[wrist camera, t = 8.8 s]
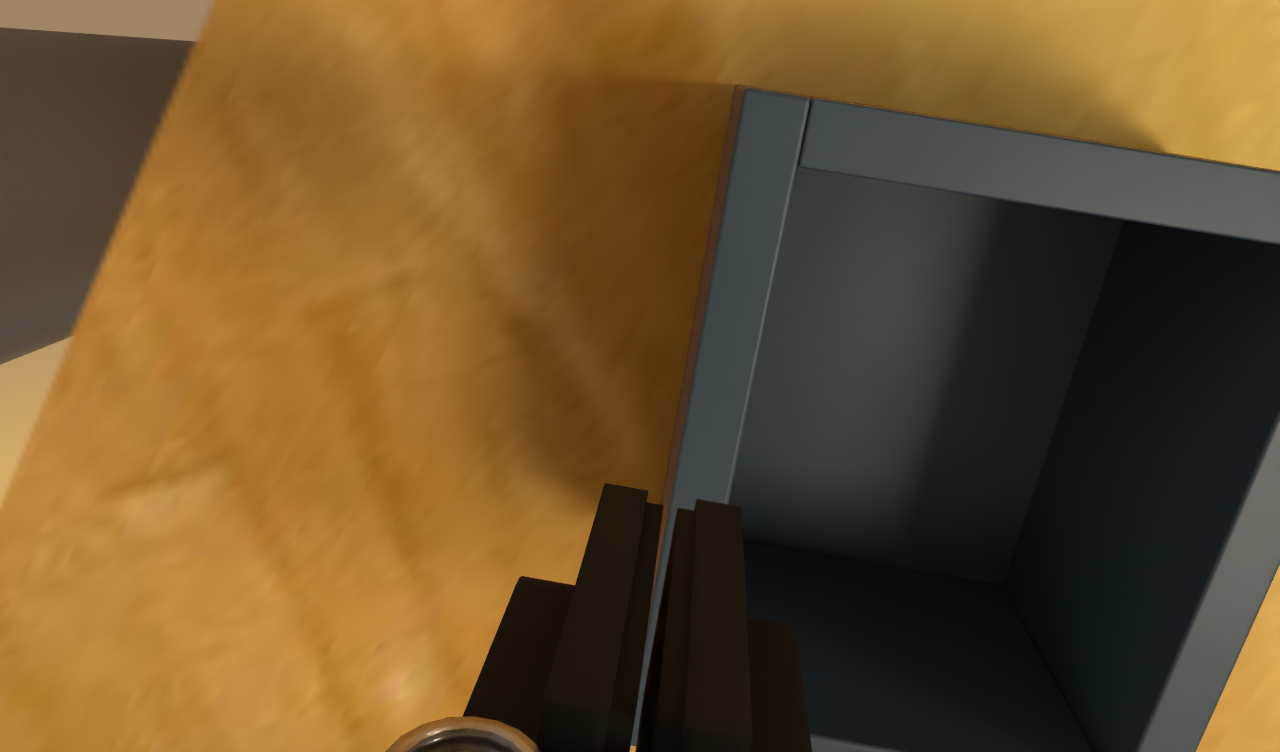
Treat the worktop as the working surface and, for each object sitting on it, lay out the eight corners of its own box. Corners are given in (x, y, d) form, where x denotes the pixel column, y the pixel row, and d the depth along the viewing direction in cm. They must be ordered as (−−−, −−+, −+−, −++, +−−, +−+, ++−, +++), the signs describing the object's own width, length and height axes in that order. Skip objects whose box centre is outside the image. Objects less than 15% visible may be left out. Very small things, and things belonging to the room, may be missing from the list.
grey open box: (625, 746, 17) (1156, 844, 16) (743, 86, 13) (1447, 198, 12) (654, 538, 24) (1018, 602, 24) (735, 84, 20) (1171, 153, 20)
